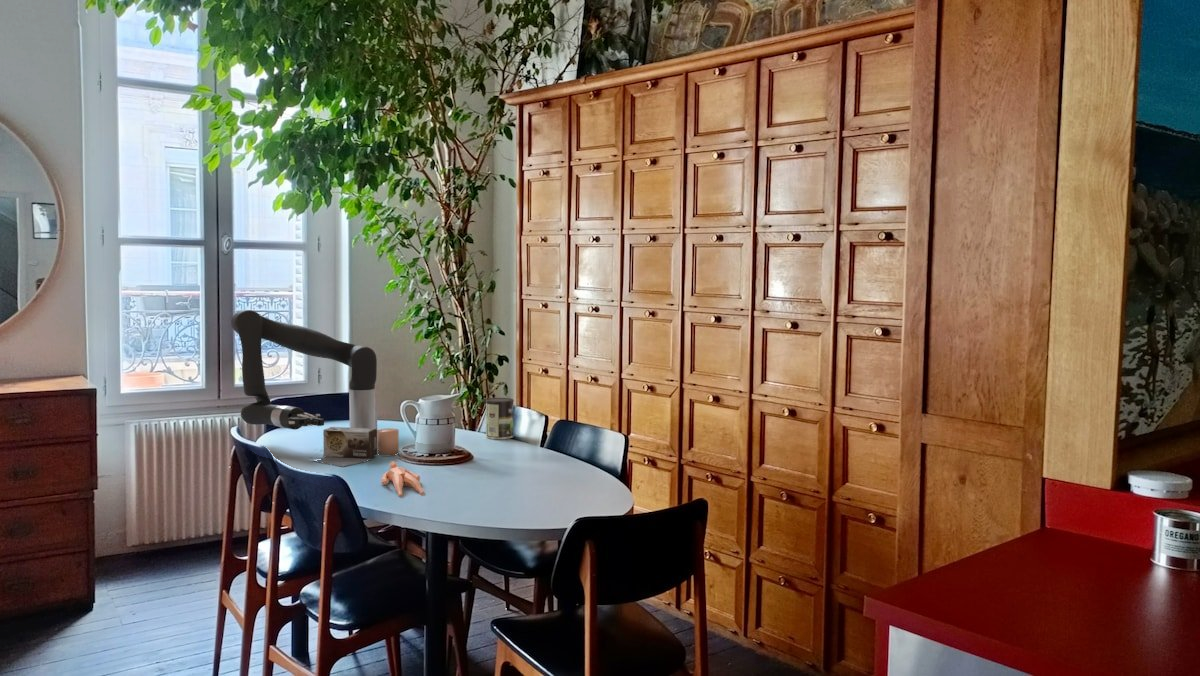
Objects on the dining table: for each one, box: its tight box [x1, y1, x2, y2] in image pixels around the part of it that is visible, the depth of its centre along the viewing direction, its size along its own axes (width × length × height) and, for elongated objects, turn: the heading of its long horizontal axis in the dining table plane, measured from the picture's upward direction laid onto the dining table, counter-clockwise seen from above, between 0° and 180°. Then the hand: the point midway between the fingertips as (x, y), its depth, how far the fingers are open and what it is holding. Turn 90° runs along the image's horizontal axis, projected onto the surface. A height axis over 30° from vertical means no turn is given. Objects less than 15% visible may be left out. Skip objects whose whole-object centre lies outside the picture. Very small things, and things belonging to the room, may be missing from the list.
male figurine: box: [380, 460, 426, 498], centre depth 250 cm, size 11×5×25 cm
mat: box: [317, 456, 372, 468], centre depth 280 cm, size 12×15×1 cm
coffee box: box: [322, 426, 378, 459], centre depth 285 cm, size 9×6×16 cm
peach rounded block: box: [377, 427, 400, 456], centre depth 291 cm, size 7×7×8 cm
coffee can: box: [485, 397, 514, 440], centre depth 321 cm, size 10×10×14 cm
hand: (322, 422), depth 284 cm, fingers closed
